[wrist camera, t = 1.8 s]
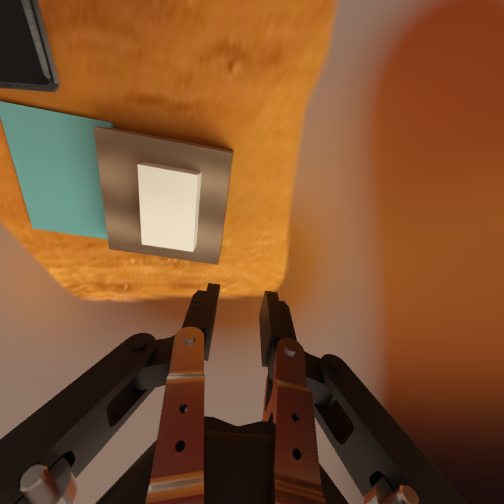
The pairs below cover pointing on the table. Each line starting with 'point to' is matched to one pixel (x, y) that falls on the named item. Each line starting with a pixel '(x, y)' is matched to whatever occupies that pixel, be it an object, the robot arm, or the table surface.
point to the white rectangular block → (169, 206)
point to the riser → (127, 189)
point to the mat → (57, 168)
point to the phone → (25, 48)
